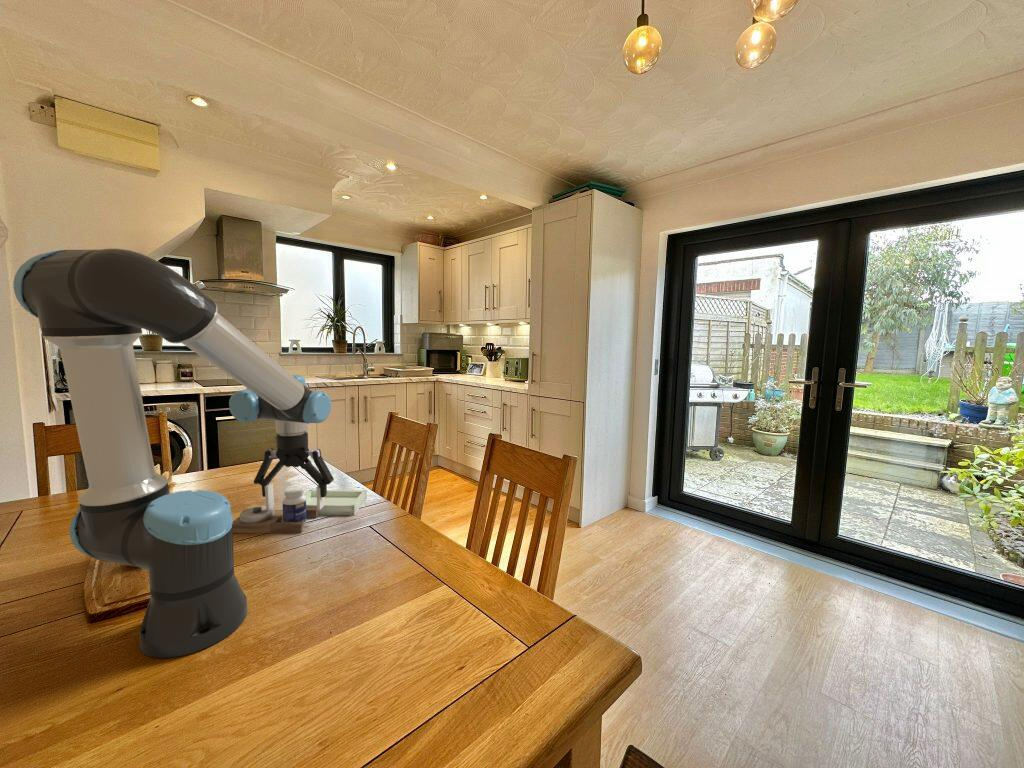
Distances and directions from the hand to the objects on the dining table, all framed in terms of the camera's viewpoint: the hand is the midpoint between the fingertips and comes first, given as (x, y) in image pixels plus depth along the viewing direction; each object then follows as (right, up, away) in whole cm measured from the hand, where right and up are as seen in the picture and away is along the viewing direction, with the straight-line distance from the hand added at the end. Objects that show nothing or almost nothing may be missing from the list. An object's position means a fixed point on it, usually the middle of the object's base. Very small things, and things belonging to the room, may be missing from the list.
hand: (295, 507), depth 112 cm
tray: (+4, -3, +12) cm, 13 cm away
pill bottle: (0, -5, 0) cm, 5 cm away
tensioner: (-6, -4, 0) cm, 7 cm away
